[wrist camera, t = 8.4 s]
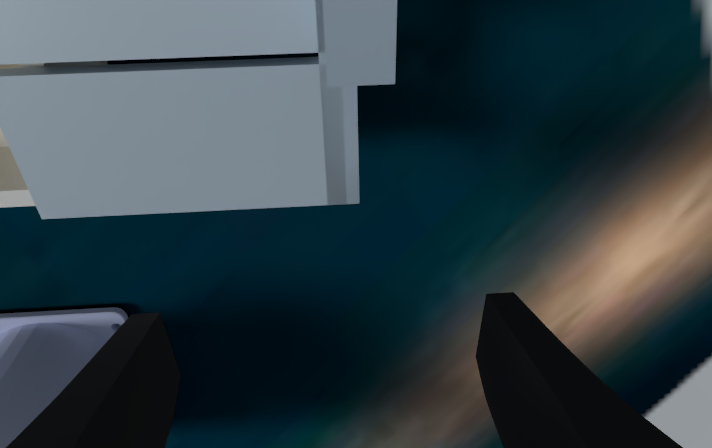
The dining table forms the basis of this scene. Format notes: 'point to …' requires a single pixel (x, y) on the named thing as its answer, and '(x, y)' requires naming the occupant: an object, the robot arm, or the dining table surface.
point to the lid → (189, 102)
